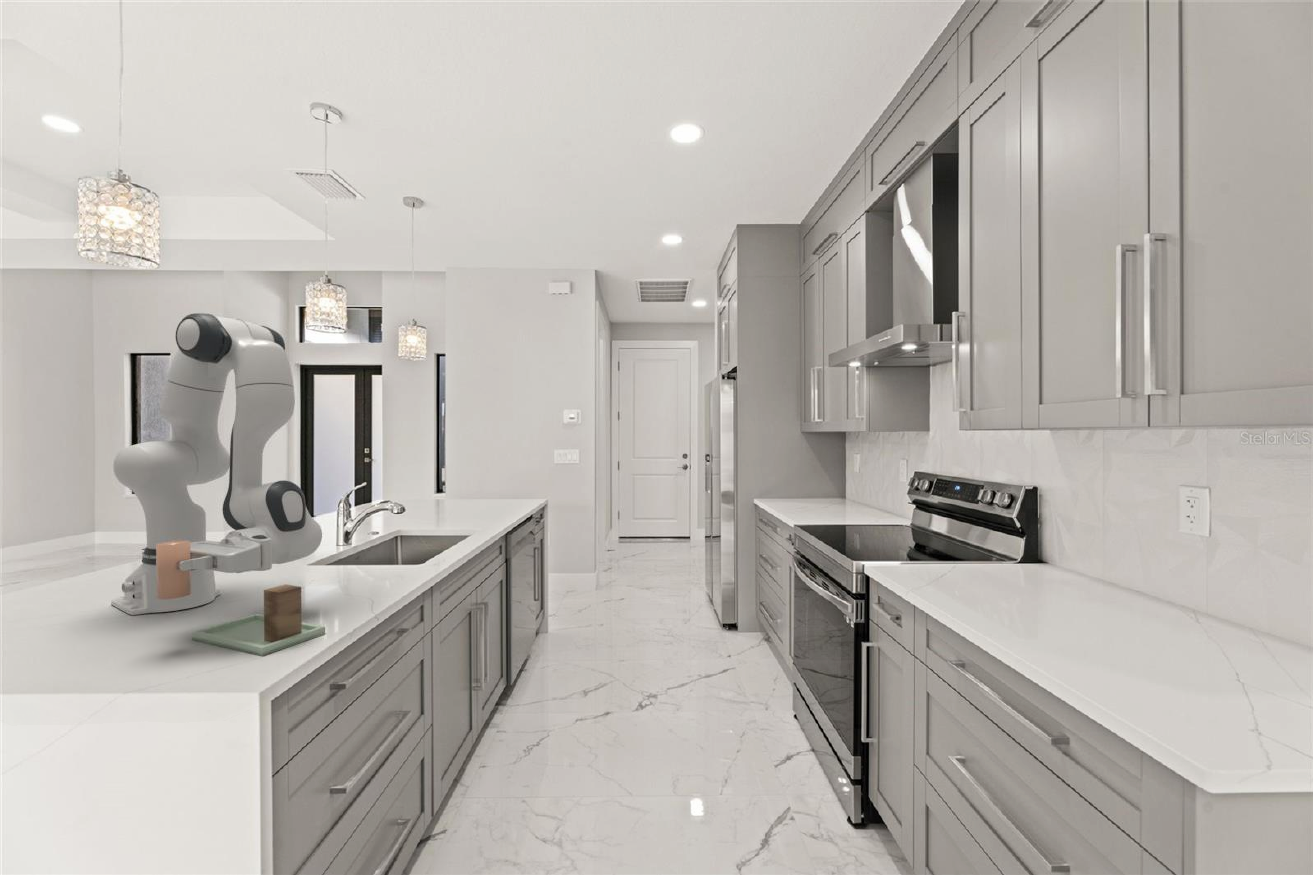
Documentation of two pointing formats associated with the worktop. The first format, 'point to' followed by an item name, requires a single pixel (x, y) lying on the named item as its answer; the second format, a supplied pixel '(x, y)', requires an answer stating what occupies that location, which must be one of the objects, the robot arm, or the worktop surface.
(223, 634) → the tray
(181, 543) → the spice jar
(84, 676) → the worktop surface
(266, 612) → the walnut block
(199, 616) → the worktop surface
